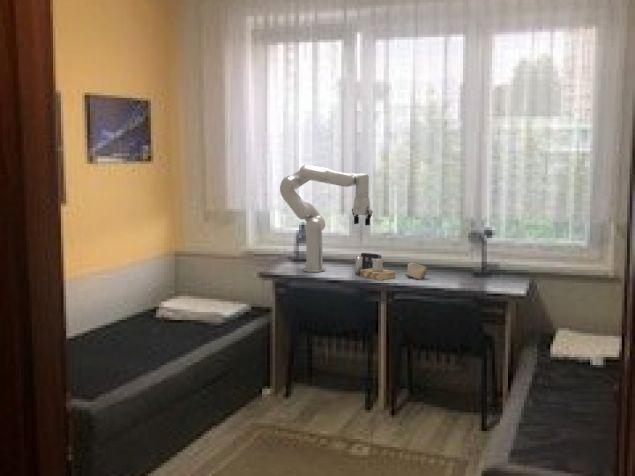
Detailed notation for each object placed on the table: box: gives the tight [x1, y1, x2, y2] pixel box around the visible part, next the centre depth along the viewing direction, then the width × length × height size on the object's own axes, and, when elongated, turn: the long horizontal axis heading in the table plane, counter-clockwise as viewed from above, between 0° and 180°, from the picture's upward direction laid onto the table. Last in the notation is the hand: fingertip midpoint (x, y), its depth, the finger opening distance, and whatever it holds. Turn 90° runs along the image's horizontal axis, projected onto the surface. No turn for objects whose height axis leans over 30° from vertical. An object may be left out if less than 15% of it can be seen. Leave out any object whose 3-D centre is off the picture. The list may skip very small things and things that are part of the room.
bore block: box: [359, 268, 396, 281], centre depth 388 cm, size 16×12×4 cm
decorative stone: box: [405, 261, 428, 280], centre depth 385 cm, size 8×14×8 cm, turn 40°
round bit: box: [354, 255, 363, 276], centre depth 396 cm, size 4×4×10 cm
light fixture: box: [360, 252, 382, 270], centre depth 408 cm, size 11×13×11 cm
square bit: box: [373, 258, 384, 272], centre depth 388 cm, size 4×4×10 cm
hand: (361, 224), depth 399 cm, fingers open, 9 cm apart
